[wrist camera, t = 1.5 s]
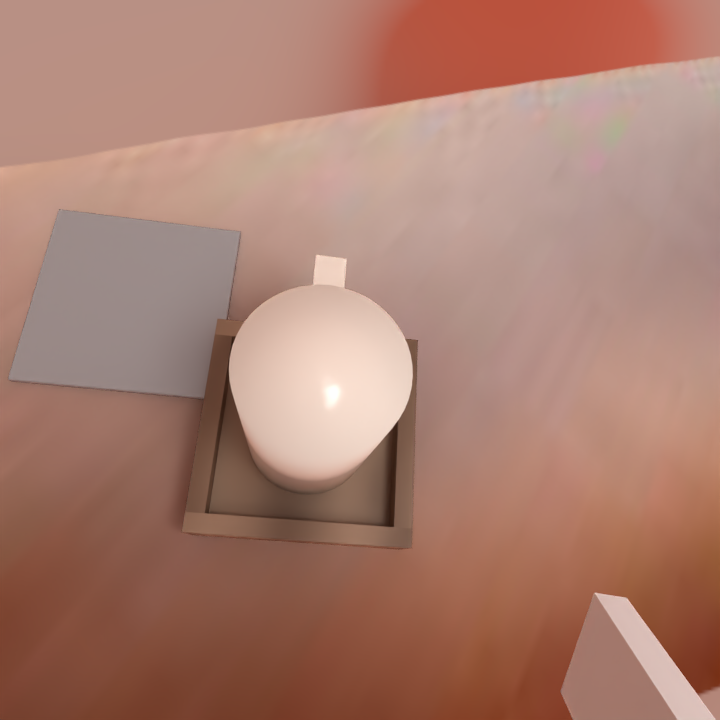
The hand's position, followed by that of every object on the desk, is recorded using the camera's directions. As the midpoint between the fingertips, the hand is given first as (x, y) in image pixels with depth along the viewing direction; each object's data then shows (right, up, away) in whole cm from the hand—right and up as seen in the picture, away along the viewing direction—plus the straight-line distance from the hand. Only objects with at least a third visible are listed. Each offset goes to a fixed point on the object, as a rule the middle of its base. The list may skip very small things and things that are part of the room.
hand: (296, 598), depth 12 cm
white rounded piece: (-1, +2, +20) cm, 21 cm away
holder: (-2, 0, +22) cm, 22 cm away
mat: (-13, +9, +24) cm, 28 cm away
